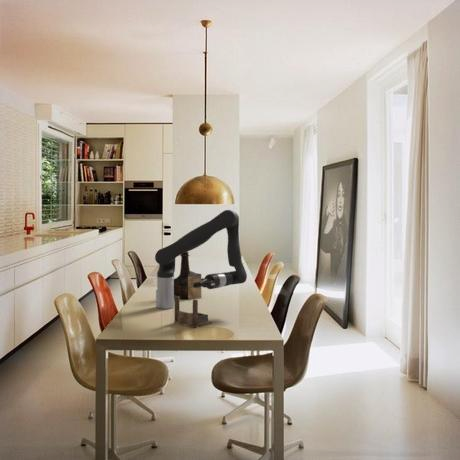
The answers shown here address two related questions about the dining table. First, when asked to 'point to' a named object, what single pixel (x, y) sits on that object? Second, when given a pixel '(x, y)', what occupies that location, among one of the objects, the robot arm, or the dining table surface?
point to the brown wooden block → (193, 292)
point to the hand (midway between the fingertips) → (190, 284)
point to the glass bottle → (182, 278)
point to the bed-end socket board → (190, 316)
